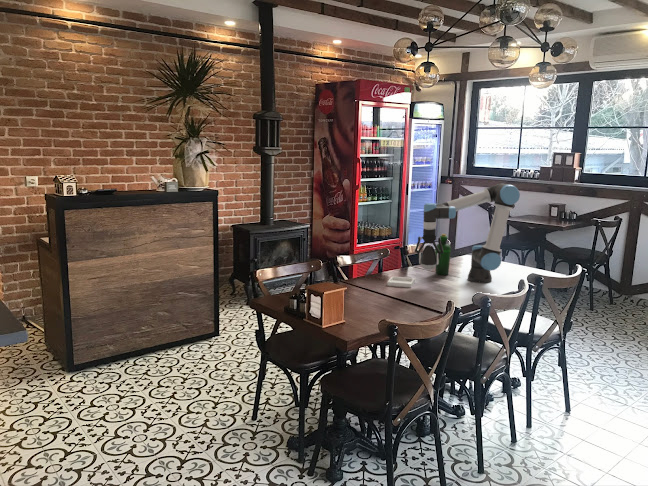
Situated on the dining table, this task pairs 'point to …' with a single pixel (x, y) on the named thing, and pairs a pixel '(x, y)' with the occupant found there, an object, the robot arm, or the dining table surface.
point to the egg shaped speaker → (428, 258)
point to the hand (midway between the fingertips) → (428, 263)
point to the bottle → (443, 257)
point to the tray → (401, 282)
